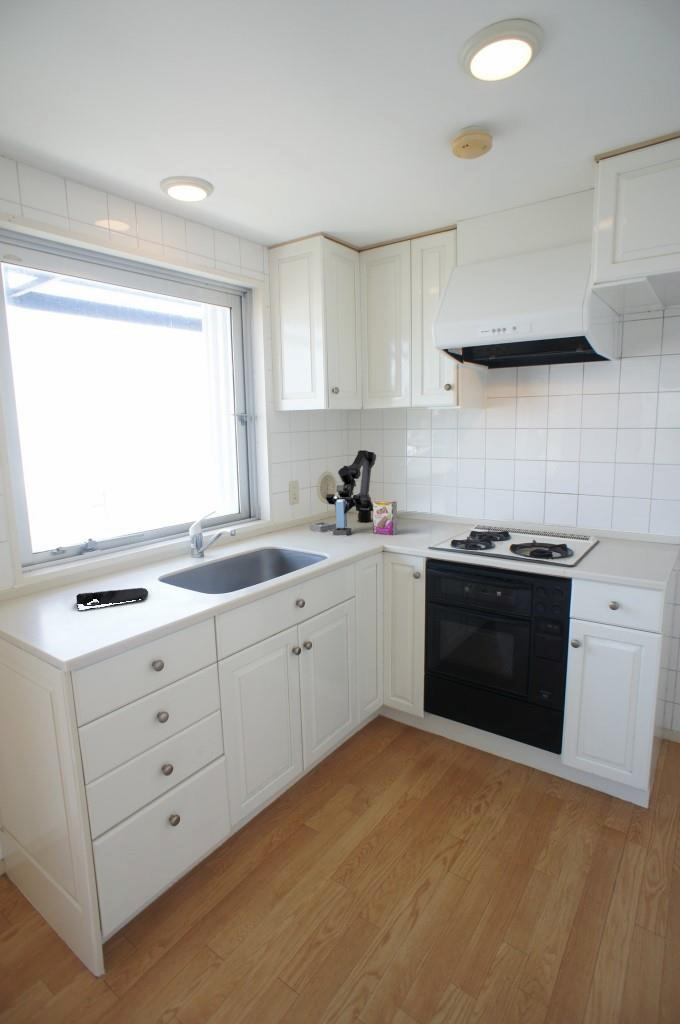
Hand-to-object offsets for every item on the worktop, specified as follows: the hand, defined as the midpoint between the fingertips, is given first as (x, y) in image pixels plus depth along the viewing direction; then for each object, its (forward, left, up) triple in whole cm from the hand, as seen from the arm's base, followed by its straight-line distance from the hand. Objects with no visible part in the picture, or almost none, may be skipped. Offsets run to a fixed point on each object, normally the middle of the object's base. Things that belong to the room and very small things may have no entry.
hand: (340, 513), depth 265 cm
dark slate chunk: (+112, +36, -11) cm, 118 cm away
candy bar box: (-18, +12, -11) cm, 24 cm away
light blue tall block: (-1, -1, -7) cm, 7 cm away
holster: (-1, -1, -11) cm, 11 cm away
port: (+1, -17, -11) cm, 20 cm away
